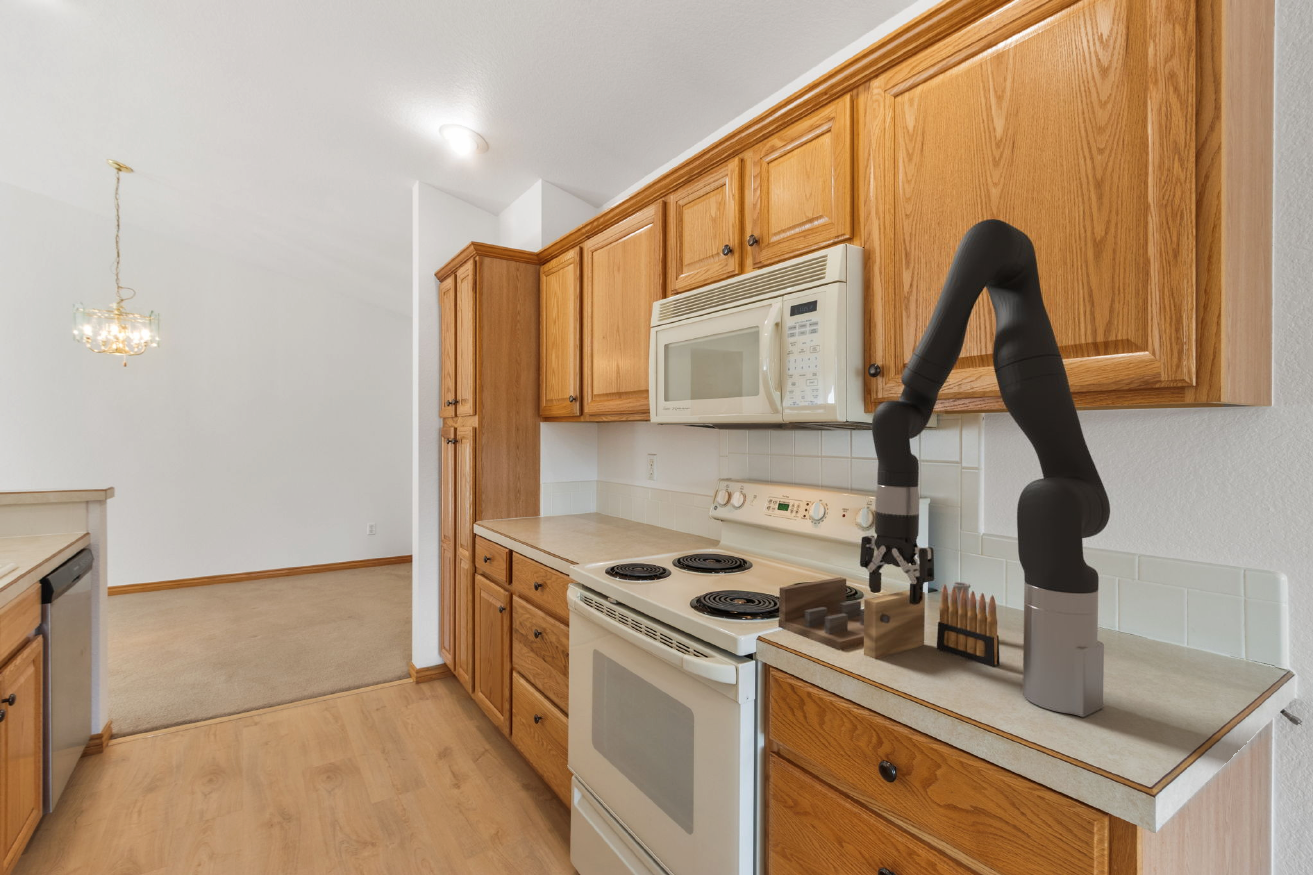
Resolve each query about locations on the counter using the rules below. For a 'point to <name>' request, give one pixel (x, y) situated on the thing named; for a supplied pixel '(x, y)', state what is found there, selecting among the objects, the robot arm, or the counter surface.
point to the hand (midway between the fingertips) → (894, 597)
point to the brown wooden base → (822, 613)
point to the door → (892, 624)
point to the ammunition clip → (968, 628)
